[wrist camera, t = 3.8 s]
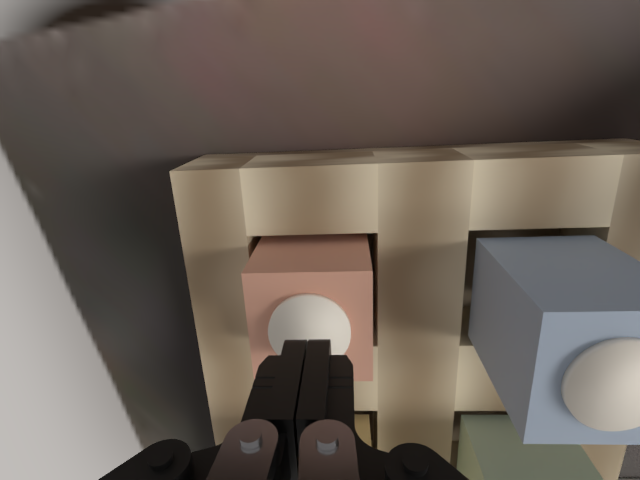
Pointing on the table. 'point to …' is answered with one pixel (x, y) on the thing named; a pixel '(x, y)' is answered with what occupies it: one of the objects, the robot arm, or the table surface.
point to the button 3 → (516, 454)
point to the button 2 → (560, 336)
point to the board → (397, 259)
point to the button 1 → (311, 296)
